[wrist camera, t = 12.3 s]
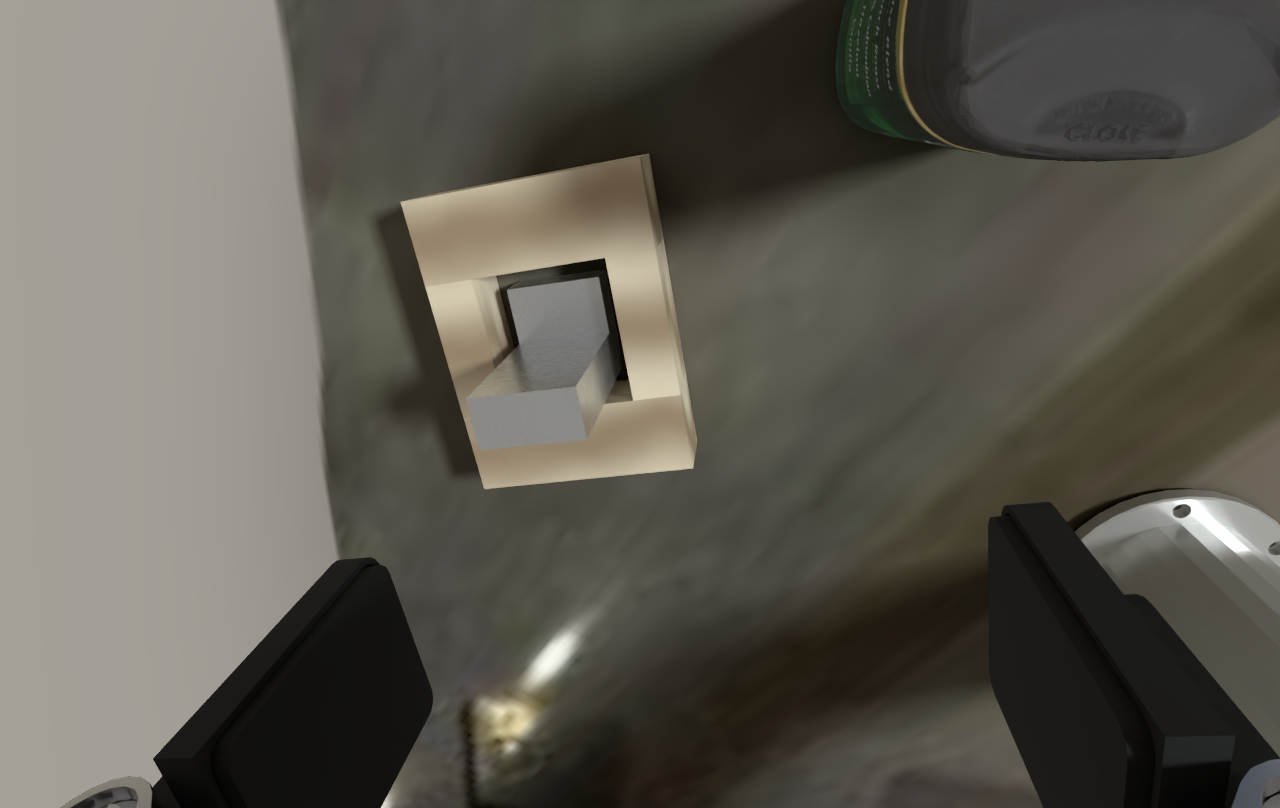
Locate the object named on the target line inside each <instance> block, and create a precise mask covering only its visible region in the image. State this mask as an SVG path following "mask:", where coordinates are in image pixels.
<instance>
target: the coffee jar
mask: <svg viewBox="0 0 1280 808" xmlns="http://www.w3.org/2000/svg"><path fill="white" fill-rule="evenodd" d="M835 83H836V91H837V96H838V99H839V102H840V104H841V107H842V108H843V110H844V112H845V113H846V115H847V116H848V117H849V118H850V119H851V120H852V121H853V122H854V123H855V124H857V125H858V126H860V127H861V128H863V129H865V130H868V131H870V132H874V133H878V134H882V135H886V136H891V137H895V138H901V139H907V140H913V141H919V142H924V143H928V144H932V145H937V146H943V147H947V148H950V149H957V150H964V151H970V152H976V153H982V154H989V155H999V156H1007V157H1015V158H1026V159H1041V160H1057V161H1062V160H1063V161H1097V162H1099V161H1117V160H1140V159H1172V158H1182V157H1190V156H1195V155H1200V154H1205V153H1208V152H1211V151H1214V150H1218V149H1220V148H1223V147H1226V146H1228V145H1230V144H1232V143H1235V142H1237V141H1239V140H1241V139H1243V138H1246V137H1248V136H1249V135H1251V134H1253V133H1254V132H1256V131H1258V130H1259V129H1261V128H1263V127H1264V126H1266V125H1267V124H1269V123H1270V122H1272V121H1273V120H1275V119H1276V118H1278V117H1279V116H1280V0H846V2H845V6H844V10H843V13H842V17H841V23H840V29H839V35H838V41H837V49H836V59H835Z"/></svg>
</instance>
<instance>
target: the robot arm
mask: <svg viewBox="0 0 1280 808" xmlns="http://www.w3.org/2000/svg"><path fill="white" fill-rule="evenodd" d="M988 565H989V672H990V678H991V683H992V687H993V691H994V694H995V696H996V699H997V701H998V703H999V706H1000V708H1001V710H1002V713H1003V715H1004V717H1005V720H1006V722H1007V724H1008V726H1009V729H1010V731H1011V733H1012V736H1013V738H1014V740H1015V743H1016V745H1017V747H1018V750H1019V752H1020V754H1021V757H1022V759H1023V761H1024V764H1025V766H1026V768H1027V770H1028V773H1029V775H1030V777H1031V780H1032V782H1033V784H1034V787H1035V789H1036V791H1037V794H1038V796H1039V798H1040V801H1041V803H1042V805H1043V808H1280V525H1279V524H1278V523H1277V522H1276V521H1275V520H1274V519H1272V518H1271V517H1270V516H1268V515H1267V514H1266V513H1264V512H1263V511H1262V510H1260V509H1259V508H1257V507H1255V506H1253V505H1251V504H1249V503H1247V502H1245V501H1243V500H1241V499H1239V498H1237V497H1233V496H1230V495H1226V494H1223V493H1219V492H1214V491H1205V490H1196V489H1183V490H1166V491H1161V492H1155V493H1150V494H1145V495H1141V496H1138V497H1135V498H1132V499H1130V500H1127V501H1124V502H1121V503H1118V504H1116V505H1114V506H1113V507H1111V508H1109V509H1107V510H1105V511H1103V512H1101V513H1099V514H1097V515H1096V516H1095V517H1093V518H1092V519H1090V520H1089V521H1088V522H1086V523H1085V524H1084V525H1082V526H1081V527H1079V528H1078V529H1077V530H1076V531H1075V532H1074V531H1073V530H1072V528H1071V527H1070V526H1069V524H1068V523H1067V522H1066V521H1065V519H1064V518H1063V517H1062V516H1061V514H1060V513H1059V512H1058V511H1057V509H1056V508H1055V507H1054V506H1053V505H1052V504H1051V503H1049V502H1042V503H1029V504H1017V505H1005V506H1004V507H1003V510H1002V515H1001V516H998V517H991V518H990V519H989V524H988ZM432 704H433V693H432V689H431V686H430V683H429V681H428V678H427V675H426V672H425V670H424V667H423V664H422V661H421V659H420V656H419V653H418V650H417V648H416V645H415V642H414V639H413V637H412V634H411V631H410V628H409V626H408V623H407V620H406V617H405V615H404V612H403V609H402V606H401V604H400V601H399V598H398V595H397V592H396V590H395V587H394V584H393V581H392V579H391V576H390V573H389V571H388V569H387V568H386V567H385V566H382V565H379V563H378V562H377V561H376V560H375V559H374V558H371V557H369V558H356V559H344V560H338V561H336V562H335V563H333V564H332V565H331V566H330V567H329V568H328V569H327V571H326V572H325V573H324V574H323V575H322V576H321V577H320V578H319V579H318V580H317V581H316V582H315V584H314V585H313V586H312V587H311V588H310V589H309V590H308V591H307V592H306V593H305V595H303V597H302V598H301V599H300V600H299V601H298V602H297V603H296V604H295V605H294V606H293V607H292V609H291V610H290V611H289V612H288V613H287V614H286V615H285V616H284V617H283V618H282V619H281V620H280V622H279V623H278V624H277V625H276V626H275V627H274V628H273V629H272V630H271V631H270V632H269V633H268V635H267V636H266V637H265V638H264V639H263V640H262V641H261V642H260V643H259V644H258V645H257V646H256V648H255V649H254V650H253V651H252V652H251V653H250V654H249V655H248V656H247V657H246V659H245V660H244V661H243V662H242V663H241V664H240V665H239V666H238V667H237V668H236V669H235V671H234V672H233V673H232V674H231V675H230V676H229V677H228V678H227V679H226V680H225V681H224V683H222V684H221V686H220V687H219V688H218V689H217V690H216V691H215V692H214V693H213V694H212V696H210V698H209V699H208V700H207V701H206V702H205V703H204V704H203V705H202V706H201V707H200V708H199V710H198V711H197V712H196V713H195V714H194V715H193V716H192V717H191V718H190V719H189V720H188V721H187V722H186V724H185V725H184V726H183V727H182V728H181V729H180V730H179V731H178V732H177V733H176V734H175V736H174V737H173V738H172V739H171V740H170V741H169V742H168V743H167V744H166V745H165V746H164V748H163V749H162V750H161V751H160V752H159V753H158V754H157V755H156V756H155V757H154V758H153V760H154V761H155V763H156V765H157V767H158V768H159V770H160V772H161V774H162V777H161V779H160V780H159V781H158V782H157V783H156V784H155V785H154V787H153V788H152V786H151V784H150V783H149V782H147V781H146V780H144V779H143V778H141V777H124V778H120V779H115V780H111V781H108V782H106V783H103V784H101V785H98V786H96V787H93V788H91V789H90V790H88V791H86V792H84V793H82V794H81V795H79V796H77V797H75V798H74V799H72V800H71V801H69V802H68V803H66V804H65V805H64V806H62V807H61V808H381V806H382V804H383V802H384V800H385V798H386V797H387V795H388V793H389V791H390V789H391V787H392V785H393V783H394V781H395V779H396V778H397V776H398V774H399V772H400V770H401V768H402V766H403V764H404V762H405V760H406V759H407V757H408V755H409V753H410V751H411V749H412V747H413V745H414V743H415V742H416V740H417V738H418V736H419V734H420V732H421V730H422V728H423V726H424V724H425V723H426V721H427V719H428V717H429V715H430V712H431V709H432Z"/></svg>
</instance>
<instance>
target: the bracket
mask: <svg viewBox="0 0 1280 808" xmlns="http://www.w3.org/2000/svg"><path fill="white" fill-rule="evenodd" d="M507 293H508V298H509V302H510V306H511V310H512V315H513V319H514V323H515V327H516V331H517V336H518V340H519V345H518V346H517V347H516V348H515V349H514V350H513V351H512V352H511V353H510V354H509V355H508V356H507V357H506V358H505V359H504V360H503V361H502V362H501V363H500V364H499V365H498V367H497V368H496V369H495V370H494V371H493V372H492V373H491V374H490V375H489V376H488V377H487V378H486V379H485V380H484V381H483V382H482V383H481V384H480V385H479V386H478V387H477V388H476V389H475V390H474V391H473V392H472V393H471V394H470V395H469V396H468V397H467V398H466V402H467V406H468V410H469V413H470V417H471V421H472V424H473V428H474V432H475V435H476V439H477V443H478V446H479V450H488V449H499V448H509V447H520V446H530V445H541V444H551V443H561V442H572V441H582V440H587V439H588V437H589V435H590V433H591V431H592V429H593V427H594V424H595V422H596V420H597V418H598V416H599V414H600V412H601V410H602V408H603V406H604V404H605V402H606V400H607V398H608V396H609V394H610V392H611V390H612V388H613V386H614V383H615V381H616V379H617V377H618V375H619V373H620V371H621V369H622V367H623V361H622V355H621V350H620V344H619V339H618V333H617V328H616V323H615V317H614V312H613V306H612V301H611V295H610V290H609V284H608V279H607V273H606V269H603V270H596V271H589V272H582V273H575V274H568V275H561V276H554V277H547V278H540V279H533V280H526V281H519V282H517V283H515V284H514V285H513V286H511V287H510V288H509V289H507Z"/></svg>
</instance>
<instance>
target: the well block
mask: <svg viewBox="0 0 1280 808" xmlns="http://www.w3.org/2000/svg"><path fill="white" fill-rule="evenodd" d="M401 205H402V209H403V212H404V216H405V219H406V222H407V226H408V229H409V233H410V236H411V240H412V243H413V246H414V250H415V253H416V257H417V260H418V264H419V267H420V270H421V274H422V277H423V281H424V284H425V288H426V291H427V294H428V298H429V301H430V305H431V308H432V312H433V315H434V318H435V322H436V325H437V329H438V332H439V335H440V339H441V342H442V346H443V349H444V353H445V356H446V359H447V363H448V366H449V370H450V373H451V377H452V380H453V383H454V387H455V390H456V394H457V397H458V401H459V404H460V407H461V411H462V414H463V418H464V421H465V425H466V428H467V431H468V435H469V438H470V442H471V445H472V449H473V452H474V455H475V459H476V462H477V466H478V469H479V472H480V476H481V479H482V483H483V486H484V489H490V488H500V487H510V486H520V485H530V484H541V483H551V482H561V481H571V480H581V479H591V478H601V477H611V476H621V475H631V474H641V473H652V472H662V471H672V470H682V469H692V468H693V465H694V459H695V452H696V445H697V437H696V431H695V425H694V419H693V413H692V407H691V401H690V395H689V389H688V383H687V377H686V371H685V365H684V359H683V353H682V347H681V341H680V335H679V329H678V323H677V317H676V311H675V305H674V299H673V293H672V287H671V281H670V275H669V269H668V263H667V257H666V251H665V245H664V239H663V233H662V227H661V221H660V215H659V209H658V203H657V197H656V191H655V185H654V179H653V173H652V167H651V161H650V155H649V153H648V154H642V155H637V156H632V157H627V158H621V159H616V160H611V161H605V162H600V163H595V164H589V165H584V166H579V167H574V168H568V169H563V170H558V171H552V172H547V173H542V174H537V175H531V176H526V177H521V178H515V179H510V180H505V181H500V182H494V183H489V184H484V185H478V186H473V187H468V188H463V189H457V190H452V191H447V192H441V193H436V194H431V195H427V196H423V197H419V198H415V199H410V200H406V201H402V202H401ZM602 258H605V260H606V265H607V271H608V276H609V281H610V286H611V291H612V296H613V301H614V306H615V311H616V316H617V321H618V326H619V331H620V336H621V341H622V346H623V352H624V357H625V362H626V367H627V372H628V377H629V380H621V381H615V383H614V386H613V388H612V390H611V392H610V394H609V396H608V398H607V400H606V402H605V404H604V406H603V408H602V410H601V412H600V414H599V416H598V418H597V420H596V422H595V424H594V427H593V429H592V431H591V433H590V435H589V437H588V439H587V440H582V441H572V442H561V443H551V444H541V445H530V446H520V447H509V448H499V449H488V450H479V446H478V443H477V439H476V435H475V432H474V428H473V424H472V421H471V417H470V413H469V410H468V406H467V402H466V398H467V397H468V396H469V395H470V394H471V393H472V392H473V391H474V390H475V389H476V388H477V387H478V386H479V385H480V384H481V383H482V382H483V381H484V380H485V379H486V378H487V377H488V376H489V375H490V374H491V373H492V372H493V371H494V370H495V369H496V368H497V367H498V365H499V364H500V363H501V362H502V361H503V360H504V359H505V358H506V357H507V356H508V355H509V354H510V353H511V352H512V351H513V350H514V349H515V348H514V344H513V340H512V336H511V332H510V328H509V324H508V321H507V317H506V313H505V309H504V305H503V301H502V297H501V293H500V289H499V285H498V281H497V277H496V275H503V274H509V273H515V272H521V271H527V270H534V269H540V268H546V267H552V266H558V265H565V264H571V263H577V262H583V261H589V260H596V259H602Z"/></svg>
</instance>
